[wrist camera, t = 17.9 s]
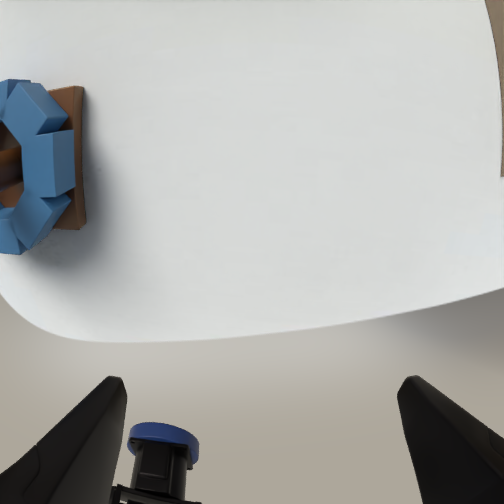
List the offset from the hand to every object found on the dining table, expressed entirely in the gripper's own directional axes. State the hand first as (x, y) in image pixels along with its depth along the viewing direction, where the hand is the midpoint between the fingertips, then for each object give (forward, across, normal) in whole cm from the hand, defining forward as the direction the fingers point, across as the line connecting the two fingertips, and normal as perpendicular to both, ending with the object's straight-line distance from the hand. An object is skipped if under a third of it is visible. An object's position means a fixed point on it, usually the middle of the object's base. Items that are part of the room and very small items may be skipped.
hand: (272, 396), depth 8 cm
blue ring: (+11, +16, -5) cm, 20 cm away
